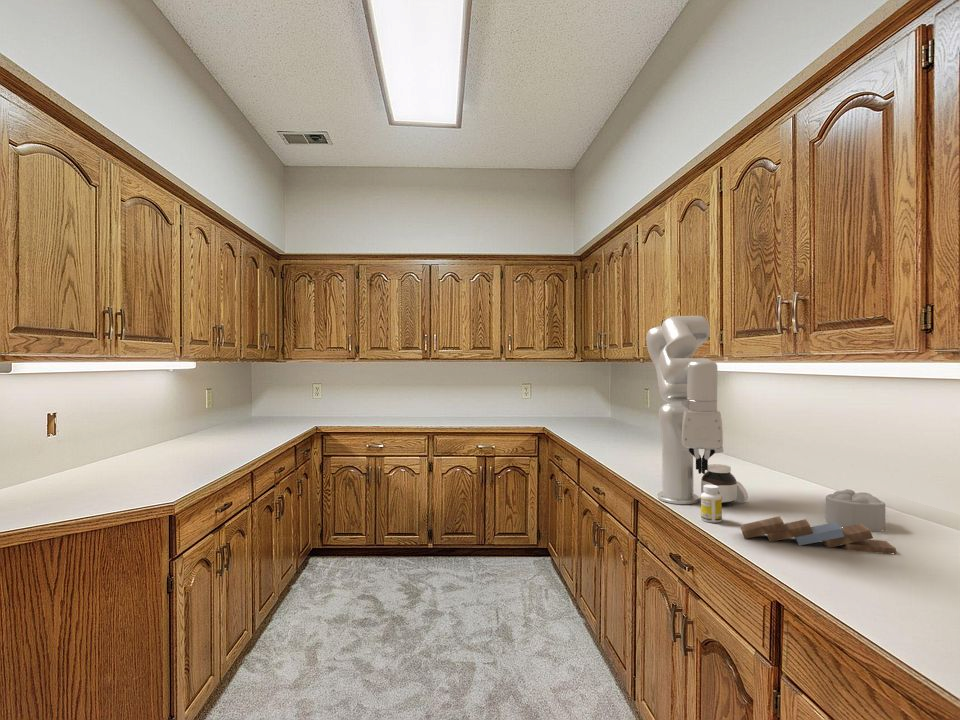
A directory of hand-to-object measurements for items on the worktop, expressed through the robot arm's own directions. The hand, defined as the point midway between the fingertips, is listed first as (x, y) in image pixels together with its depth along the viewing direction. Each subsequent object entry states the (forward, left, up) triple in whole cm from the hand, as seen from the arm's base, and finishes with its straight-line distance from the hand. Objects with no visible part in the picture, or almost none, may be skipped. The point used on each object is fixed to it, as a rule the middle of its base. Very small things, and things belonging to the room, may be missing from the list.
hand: (701, 472), depth 142 cm
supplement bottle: (-8, +3, -16) cm, 18 cm away
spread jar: (-28, +8, -16) cm, 33 cm away
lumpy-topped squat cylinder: (-16, +39, -16) cm, 45 cm away
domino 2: (+3, +15, -14) cm, 21 cm away
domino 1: (+3, +10, -14) cm, 18 cm away
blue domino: (+4, +22, -14) cm, 26 cm away
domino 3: (+3, +28, -14) cm, 31 cm away
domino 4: (+3, +32, -15) cm, 35 cm away
